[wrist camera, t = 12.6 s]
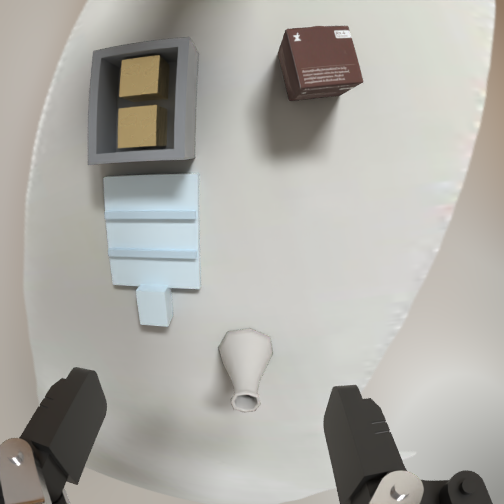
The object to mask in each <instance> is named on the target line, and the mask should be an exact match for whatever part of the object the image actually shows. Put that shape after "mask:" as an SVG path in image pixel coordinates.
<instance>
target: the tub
mask: <svg viewBox="0 0 504 504" xmlns="http://www.w3.org/2000/svg"><path fill="white" fill-rule="evenodd" d="M156 55H160V56H161V57H162V58H163V59H164V60H165V61H166V62H167V63H168V64H169V65H170V69H169V86H168V99H162V100H150V101H139V102H131V101H129V100H126V99H123V98H120V97H119V91H120V76H121V65H122V60H126V59H133V58H140V57H148V56H156ZM198 57H199V53H198V51H197V49H196V47H195V46H194V44H193V42H192V40H191V38H190V37H182V38H171V39H161V40H153V41H145V42H139V43H132V44H126V45H121V46H115V47H110V48H105V49H100V50H96V51H93V59H92V68H91V79H90V92H89V111H88V165H94V164H106V163H120V162H136V161H157V160H186V159H192V158H195V127H196V97H197V75H198ZM149 105H158V106H161V107H163V108H165V109H167V146H155V147H137V148H118V111H119V109H120V108H129V107H138V106H149Z"/></svg>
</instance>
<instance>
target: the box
mask: <svg viewBox="0 0 504 504" xmlns="http://www.w3.org/2000/svg"><path fill="white" fill-rule="evenodd" d="M278 56H279V61H280V64H281V69H282V73H283V77H284V81H285V85H286V89H287V93H288V98H289V101H296V100H304V99H314V98H322V97H330V96H340V95H342V94H344V93H345V92H347V91H349V90H350V89H352V88H354V87H356V86H357V85H359V84H361V83H363V78H362V74H361V70H360V66H359V63H358V59H357V55H356V52H355V48H354V44H353V41H352V37H351V34H350V30H349V27H348V26H313V27H307V28H293V29H287V30H285V34H284V36H283V40H282V42H281V45H280V48H279V51H278Z"/></svg>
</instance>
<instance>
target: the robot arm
mask: <svg viewBox="0 0 504 504" xmlns="http://www.w3.org/2000/svg"><path fill="white" fill-rule="evenodd" d="M106 411H107V403H106V399H105V396H104V393H103V390H102V388H101V385H100V382H99V379H98V376H97V373H96V372H95V371H92V370H87V369H82V368H78V367H75V368H73V369H72V371H71V372H70V374H69V375H68V377H67V378H66V379H63V378H62V379H60V380H59V381H58V382H56V383H55V384H54V385H52V386H51V388H50V389H49V391H48V392H47V394H46V396H45V399H43V400H42V402H41V403H40V407H38V408H37V410H36V412H35V413H34V415H33V416H32V418H31V420H30V421H29V423H28V425H27V426H26V428H25V430H24V432H23V433H22V435H21V436H20V437H19V438H11V439H8V440H6V441H4V442H3V443H2V444H1V445H0V504H70V501H69V499H68V496H67V493H66V491H65V489H64V485H65V483H66V481H67V482H70V483H73V484H76V485H78V482H79V479H80V477H81V474H82V471H83V469H84V466H85V464H86V461H87V459H88V456H89V454H90V451H91V449H92V446H93V444H94V442H95V439H96V437H97V434H98V432H99V430H100V427H101V425H102V423H103V420H104V418H105V415H106ZM385 421H386V420H385V417H384V415H383V413H382V410H381V408H380V407H379V406H378V405H377V404H376V403H375V402H374V401H373V400H372V399H371V398H369V399H362V396H361V394H360V391H359V389H358V387H357V386H356V385H348V386H334V387H333V389H332V392H331V395H330V398H329V402H328V405H327V408H326V411H325V415H324V433H325V437H326V442H327V446H328V450H329V455H330V459H331V464H332V468H333V473H334V478H335V482H336V487H337V492H338V496H339V501H340V504H493V503H492V501H491V499H490V496H489V494H488V491H487V489H486V486H485V484H484V482H483V480H482V478H481V477H480V476H479V475H478V474H476V473H475V472H472V471H461V472H458V473H457V474H455V475H454V476H453V477H452V478H451V479H450V480H444V481H425V480H420V479H419V478H418V476H416V475H415V474H413V473H411V472H408V471H407V470H406V468H405V466H404V464H403V462H402V459H401V457H400V454H399V451H398V449H397V447H396V444H395V442H394V439H393V437H392V434H391V432H389V430H390V429H389V427H388V425H387V423H386V422H385Z"/></svg>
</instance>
